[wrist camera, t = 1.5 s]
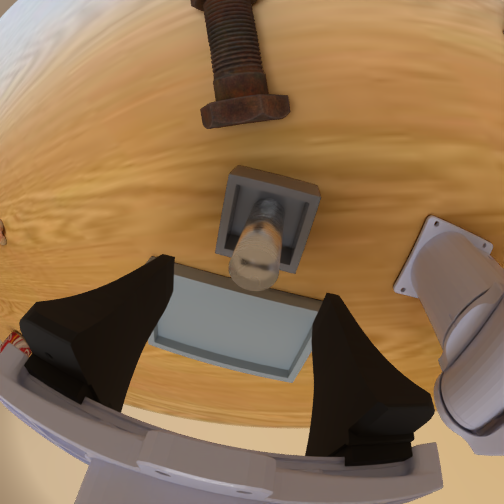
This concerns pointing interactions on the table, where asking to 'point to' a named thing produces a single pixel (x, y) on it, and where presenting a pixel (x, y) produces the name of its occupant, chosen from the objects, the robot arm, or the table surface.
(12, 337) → the soda can
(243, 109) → the bolt
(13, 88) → the table surface
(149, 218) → the table surface
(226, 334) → the tray
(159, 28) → the table surface
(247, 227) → the steel pin
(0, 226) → the grandmother figurine
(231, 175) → the shallow square open box
